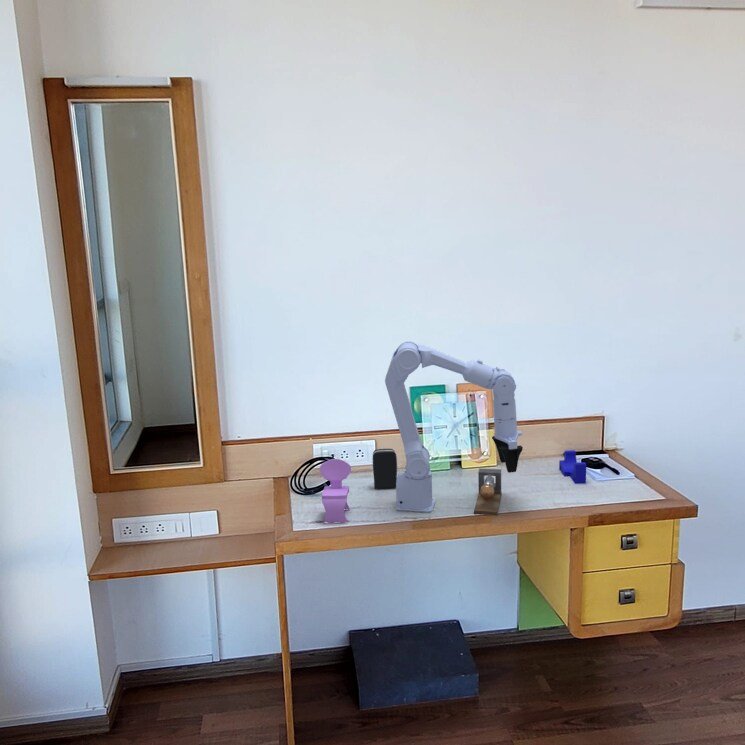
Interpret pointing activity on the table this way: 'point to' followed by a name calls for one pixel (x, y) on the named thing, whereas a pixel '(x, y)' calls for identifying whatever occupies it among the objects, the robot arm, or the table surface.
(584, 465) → the blue stepped block
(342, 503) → the toy chair
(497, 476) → the housing
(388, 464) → the battery
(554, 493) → the table surface
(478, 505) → the board
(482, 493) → the light bulb
